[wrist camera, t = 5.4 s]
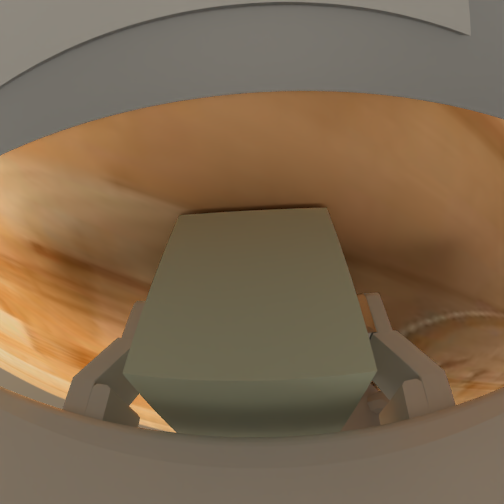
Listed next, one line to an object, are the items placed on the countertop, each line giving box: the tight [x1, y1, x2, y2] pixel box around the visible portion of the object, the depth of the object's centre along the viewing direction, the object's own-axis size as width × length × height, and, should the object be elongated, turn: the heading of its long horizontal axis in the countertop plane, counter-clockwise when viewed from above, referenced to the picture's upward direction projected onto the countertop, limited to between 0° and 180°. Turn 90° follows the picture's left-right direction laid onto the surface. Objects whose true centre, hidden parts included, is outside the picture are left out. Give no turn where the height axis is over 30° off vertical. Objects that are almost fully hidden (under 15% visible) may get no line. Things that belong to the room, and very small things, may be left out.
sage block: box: [123, 208, 377, 437], centre depth 9 cm, size 5×5×6 cm
